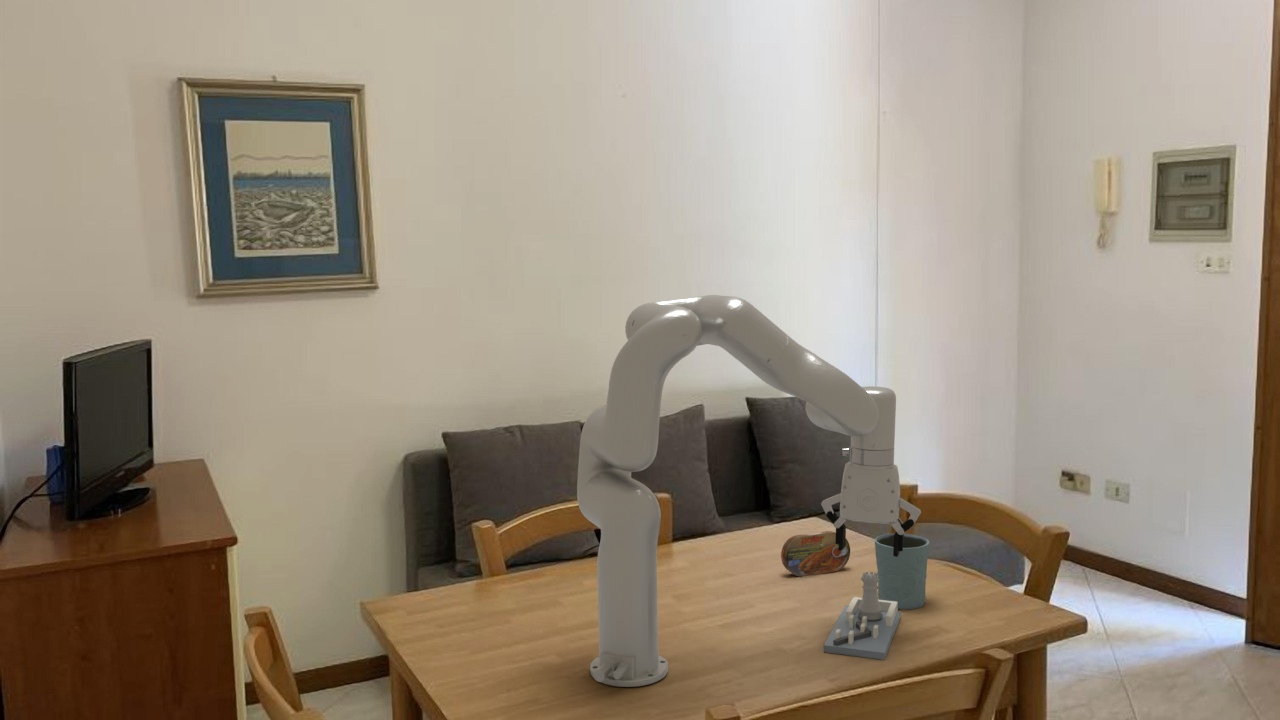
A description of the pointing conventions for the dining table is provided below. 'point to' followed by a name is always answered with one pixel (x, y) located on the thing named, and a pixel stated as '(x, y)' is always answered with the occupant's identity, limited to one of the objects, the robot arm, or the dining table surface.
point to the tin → (814, 554)
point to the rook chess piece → (870, 598)
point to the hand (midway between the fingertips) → (868, 551)
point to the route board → (863, 631)
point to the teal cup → (902, 570)
